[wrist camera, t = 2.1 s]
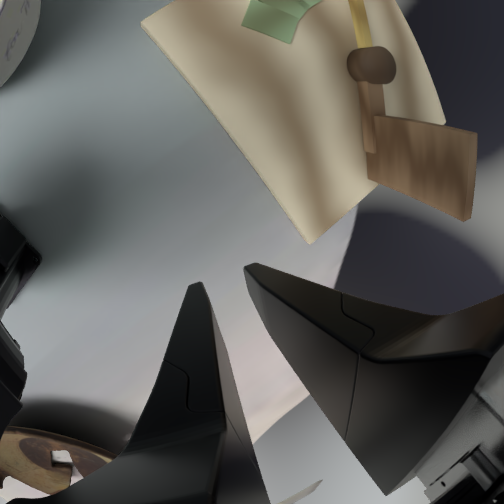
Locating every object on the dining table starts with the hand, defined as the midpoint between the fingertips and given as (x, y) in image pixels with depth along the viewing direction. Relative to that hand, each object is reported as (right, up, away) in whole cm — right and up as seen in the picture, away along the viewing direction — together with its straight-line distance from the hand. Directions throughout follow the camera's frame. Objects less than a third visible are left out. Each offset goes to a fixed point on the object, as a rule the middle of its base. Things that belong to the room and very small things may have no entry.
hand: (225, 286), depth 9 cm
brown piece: (+9, +15, +10) cm, 21 cm away
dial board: (+7, +15, +11) cm, 20 cm away
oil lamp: (-27, -25, +18) cm, 41 cm away
